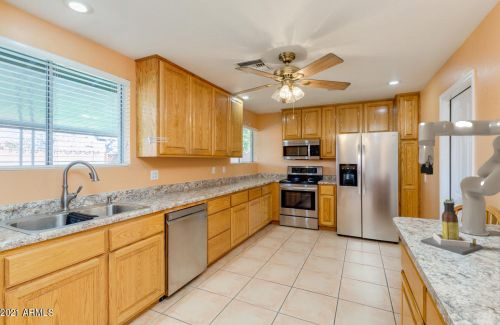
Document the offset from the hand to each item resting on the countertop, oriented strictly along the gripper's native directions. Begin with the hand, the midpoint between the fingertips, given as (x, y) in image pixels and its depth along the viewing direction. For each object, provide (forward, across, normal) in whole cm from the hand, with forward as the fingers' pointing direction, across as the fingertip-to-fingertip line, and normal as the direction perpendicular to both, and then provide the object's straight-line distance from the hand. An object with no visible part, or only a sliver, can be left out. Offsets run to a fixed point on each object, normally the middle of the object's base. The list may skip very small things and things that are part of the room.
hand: (426, 174), depth 134 cm
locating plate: (+33, +20, +4) cm, 39 cm away
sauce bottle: (+32, +20, +4) cm, 38 cm away
